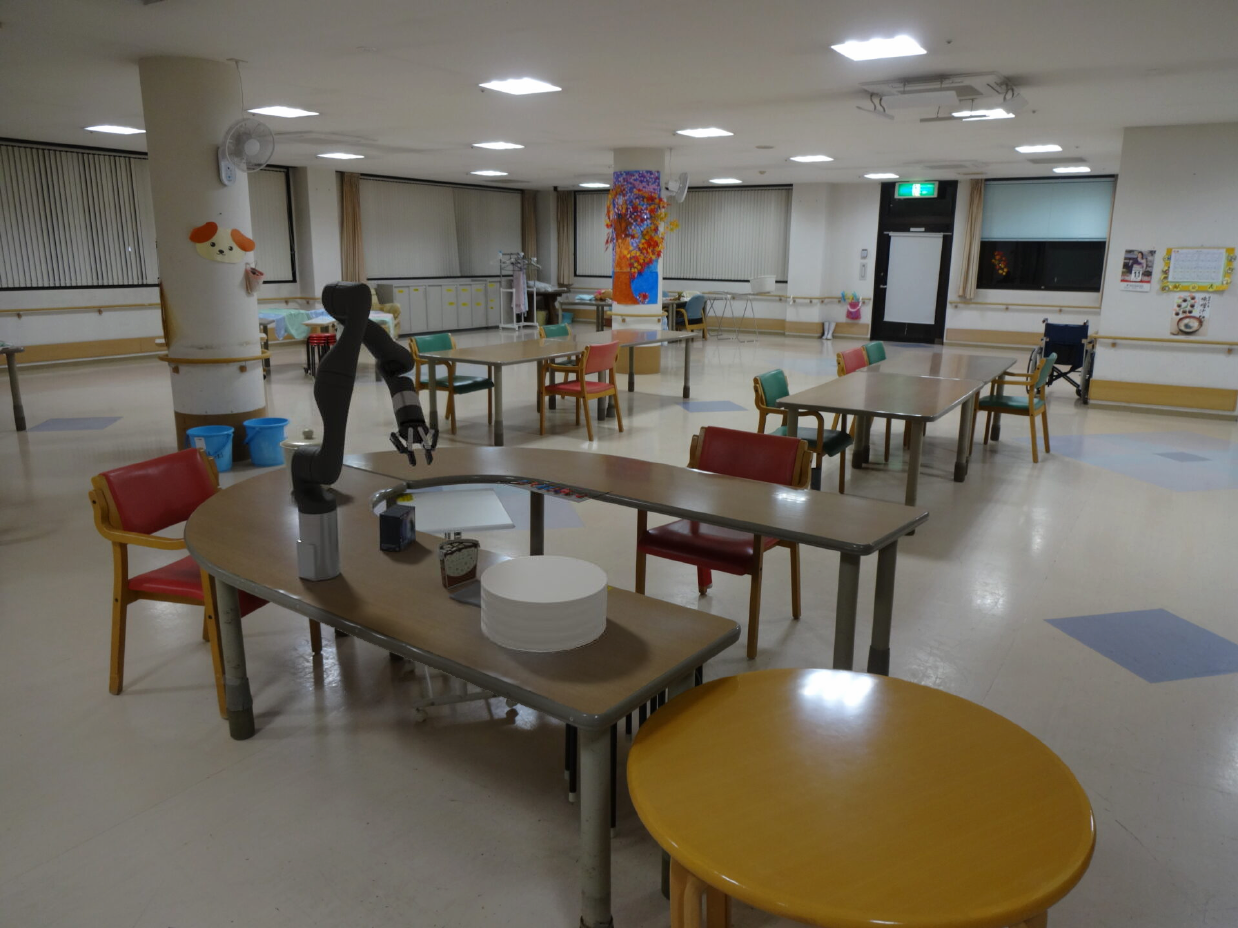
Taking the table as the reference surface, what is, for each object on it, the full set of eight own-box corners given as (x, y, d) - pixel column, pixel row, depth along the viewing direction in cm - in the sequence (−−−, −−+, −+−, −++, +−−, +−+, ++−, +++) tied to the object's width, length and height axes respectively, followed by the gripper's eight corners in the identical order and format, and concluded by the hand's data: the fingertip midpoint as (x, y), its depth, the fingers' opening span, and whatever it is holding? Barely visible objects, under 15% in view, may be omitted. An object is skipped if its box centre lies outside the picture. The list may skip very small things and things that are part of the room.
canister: (348, 484, 298) (345, 425, 293) (323, 499, 281) (320, 436, 275) (299, 481, 300) (296, 422, 295) (272, 495, 283) (267, 432, 278)
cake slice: (464, 571, 223) (464, 534, 221) (480, 577, 219) (480, 540, 217) (426, 584, 214) (425, 546, 211) (442, 590, 210) (441, 552, 208)
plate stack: (544, 590, 212) (544, 547, 210) (631, 624, 195) (633, 577, 192) (455, 625, 192) (454, 577, 189) (543, 666, 174) (544, 614, 171)
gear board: (613, 485, 301) (579, 497, 286) (613, 492, 301) (579, 504, 286) (518, 463, 326) (482, 473, 311) (518, 470, 327) (482, 480, 311)
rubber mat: (482, 607, 201) (482, 605, 201) (449, 597, 206) (449, 595, 206) (528, 583, 216) (528, 581, 216) (496, 575, 221) (496, 572, 221)
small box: (400, 552, 235) (399, 516, 232) (378, 550, 236) (377, 513, 233) (417, 540, 245) (416, 505, 242) (396, 538, 246) (394, 503, 244)
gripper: (384, 405, 231) (398, 459, 223) (435, 402, 237) (450, 454, 230) (380, 420, 236) (393, 474, 229) (430, 417, 243) (444, 468, 236)
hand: (422, 463), depth 230 cm, fingers open, 3 cm apart
